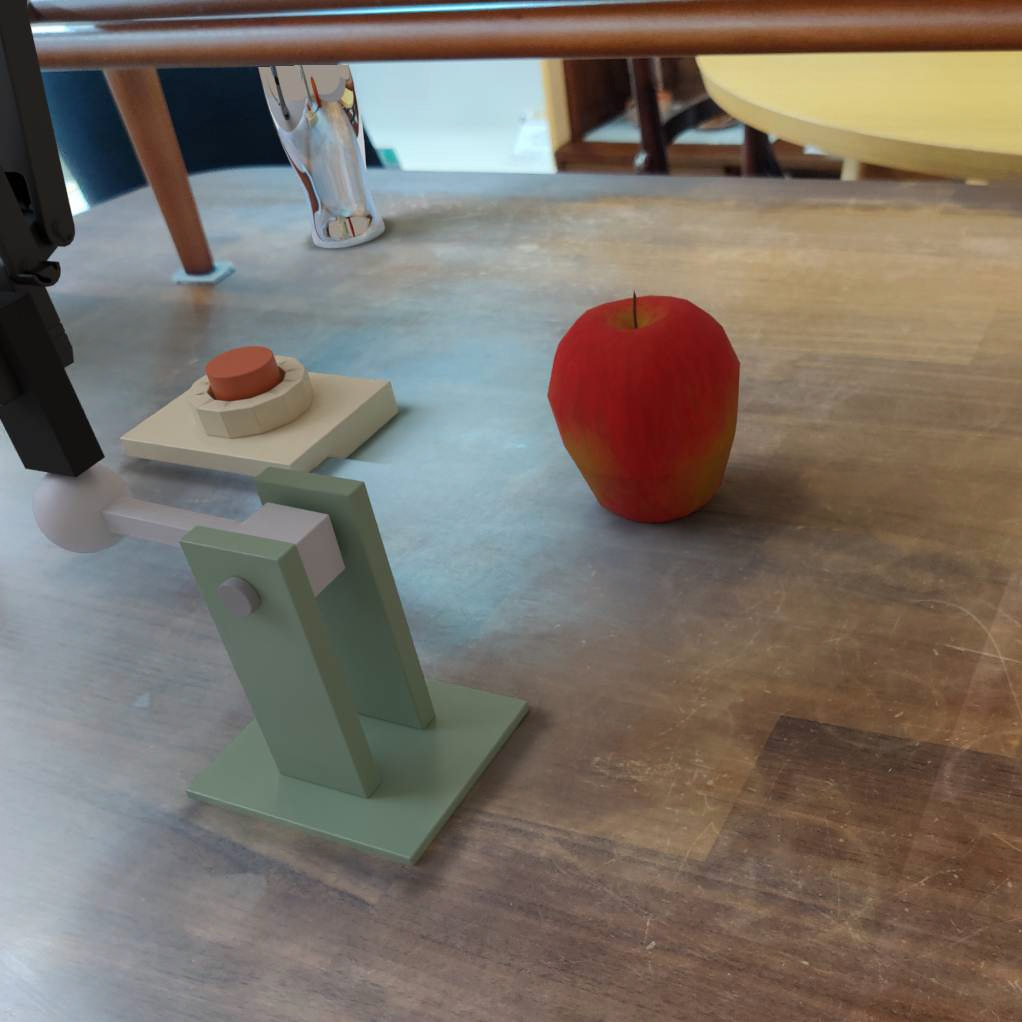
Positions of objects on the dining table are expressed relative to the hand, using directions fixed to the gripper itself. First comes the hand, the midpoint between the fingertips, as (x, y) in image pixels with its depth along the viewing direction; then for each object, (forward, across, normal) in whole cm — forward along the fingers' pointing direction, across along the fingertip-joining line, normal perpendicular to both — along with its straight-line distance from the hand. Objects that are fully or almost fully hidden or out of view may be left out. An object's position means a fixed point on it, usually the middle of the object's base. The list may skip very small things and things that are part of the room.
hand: (64, 462), depth 45 cm
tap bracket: (+13, 0, -10) cm, 17 cm away
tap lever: (+4, 0, -5) cm, 6 cm away
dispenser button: (+10, +22, +13) cm, 27 cm away
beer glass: (+13, +53, +29) cm, 62 cm away
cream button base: (+13, +22, +13) cm, 29 cm away
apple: (+14, +21, -14) cm, 29 cm away
